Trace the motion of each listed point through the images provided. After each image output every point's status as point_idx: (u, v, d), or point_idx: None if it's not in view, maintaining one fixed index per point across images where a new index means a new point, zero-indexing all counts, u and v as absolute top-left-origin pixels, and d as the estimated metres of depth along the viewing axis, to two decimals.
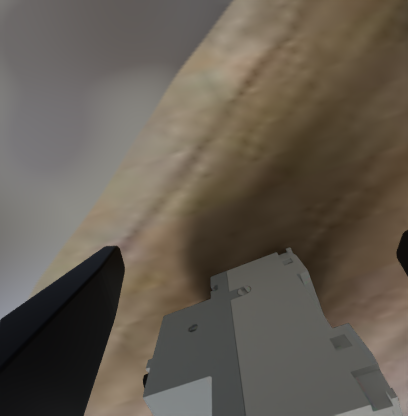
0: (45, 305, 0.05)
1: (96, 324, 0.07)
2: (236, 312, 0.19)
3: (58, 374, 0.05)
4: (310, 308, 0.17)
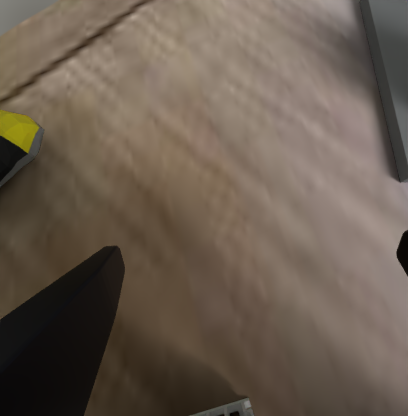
0: (45, 305, 0.05)
1: (96, 324, 0.07)
2: None
3: (58, 374, 0.05)
4: None
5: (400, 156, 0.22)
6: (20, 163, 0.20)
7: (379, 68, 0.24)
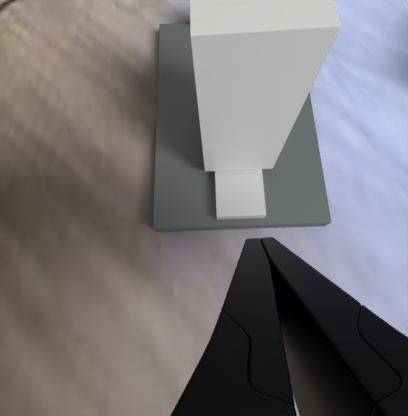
0: (255, 295, 0.05)
1: None
2: None
3: None
4: None
5: None
6: None
7: None
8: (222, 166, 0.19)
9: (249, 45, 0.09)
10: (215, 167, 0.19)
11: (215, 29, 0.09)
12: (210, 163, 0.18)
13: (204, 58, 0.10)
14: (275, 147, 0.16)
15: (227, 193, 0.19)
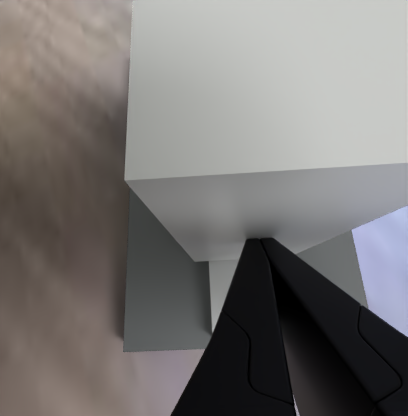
0: (255, 295, 0.05)
1: None
2: None
3: None
4: None
5: None
6: None
7: None
8: (219, 259, 0.13)
9: (274, 186, 0.04)
10: (209, 259, 0.13)
11: (187, 158, 0.03)
12: (201, 258, 0.13)
13: (168, 201, 0.04)
14: (297, 248, 0.11)
15: None
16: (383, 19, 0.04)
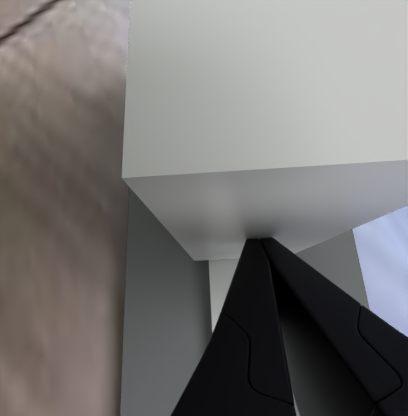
0: (255, 295, 0.05)
1: None
2: None
3: None
4: None
5: None
6: None
7: None
8: (219, 258, 0.13)
9: (276, 183, 0.04)
10: (209, 258, 0.13)
11: (186, 156, 0.03)
12: (201, 257, 0.13)
13: (167, 199, 0.04)
14: (298, 247, 0.11)
15: None
16: (388, 12, 0.04)
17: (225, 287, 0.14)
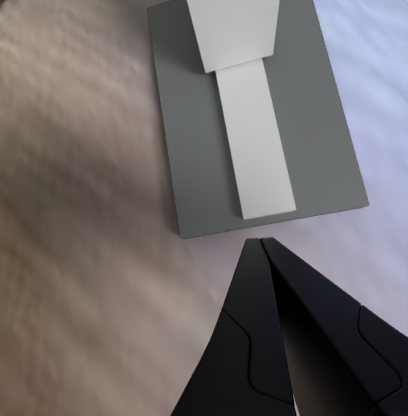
0: (255, 295, 0.05)
1: None
2: None
3: None
4: None
5: None
6: None
7: None
8: (221, 61, 0.19)
9: None
10: (214, 64, 0.19)
11: None
12: (208, 59, 0.18)
13: None
14: (269, 20, 0.16)
15: (251, 192, 0.18)
16: None
17: (229, 88, 0.19)
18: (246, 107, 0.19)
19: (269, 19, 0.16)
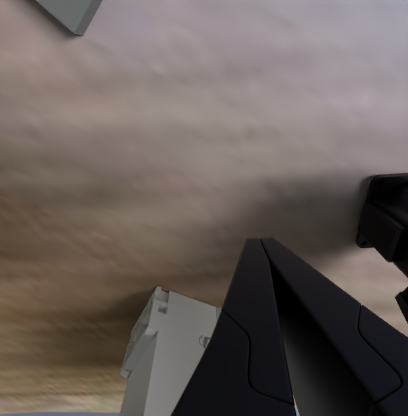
0: (255, 295, 0.05)
1: None
2: None
3: None
4: None
5: None
6: None
7: None
8: None
9: None
10: None
11: None
12: None
13: None
14: None
15: None
16: None
17: None
18: None
19: None
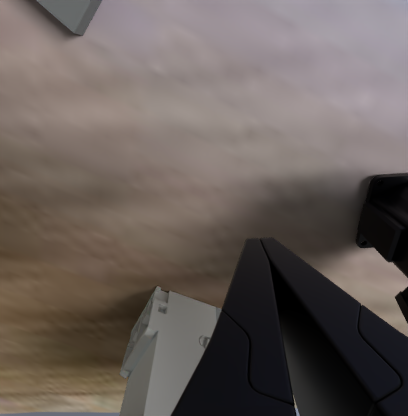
0: (255, 295, 0.05)
1: None
2: None
3: None
4: None
5: None
6: None
7: None
8: None
9: None
10: None
11: None
12: None
13: None
14: None
15: None
16: None
17: None
18: None
19: None
